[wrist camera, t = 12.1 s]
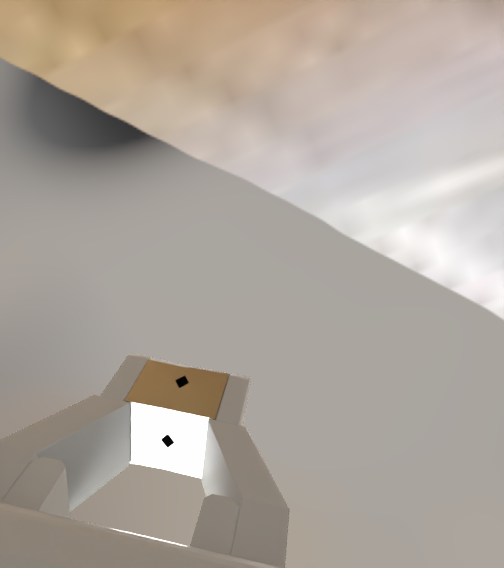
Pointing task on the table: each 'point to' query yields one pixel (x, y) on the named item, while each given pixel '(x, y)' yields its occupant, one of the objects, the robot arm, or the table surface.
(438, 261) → the table surface
